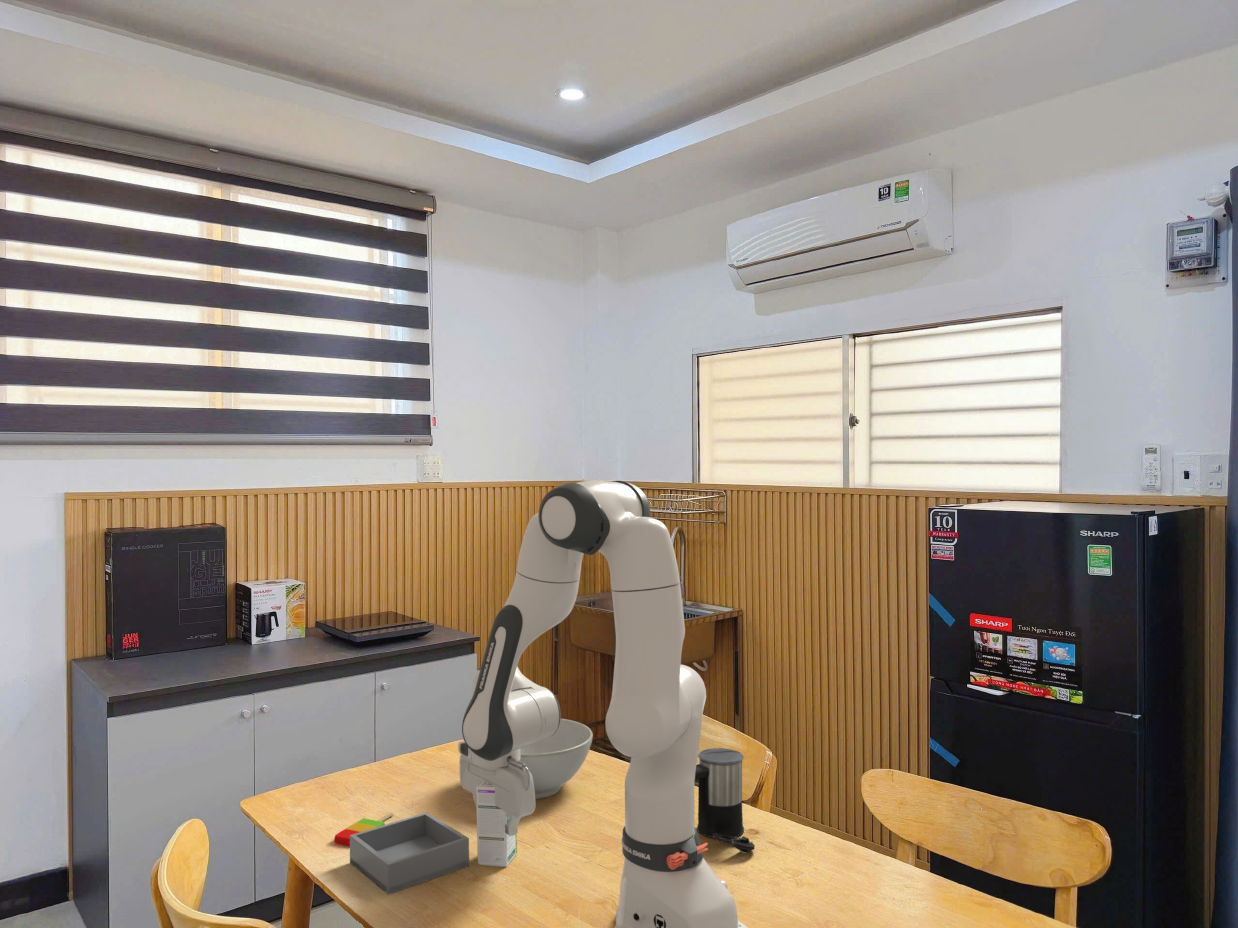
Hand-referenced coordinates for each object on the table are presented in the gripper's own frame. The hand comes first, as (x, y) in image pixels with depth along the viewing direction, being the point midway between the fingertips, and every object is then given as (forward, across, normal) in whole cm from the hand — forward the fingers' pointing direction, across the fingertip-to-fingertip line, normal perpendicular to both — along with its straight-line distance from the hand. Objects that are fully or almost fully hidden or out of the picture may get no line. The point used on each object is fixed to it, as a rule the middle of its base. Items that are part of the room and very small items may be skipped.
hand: (496, 825), depth 157 cm
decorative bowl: (+6, +24, -25) cm, 35 cm away
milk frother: (+6, -22, -38) cm, 44 cm away
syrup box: (+6, 0, 0) cm, 6 cm away
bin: (+6, +9, +13) cm, 17 cm away
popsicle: (+7, +28, +12) cm, 31 cm away
